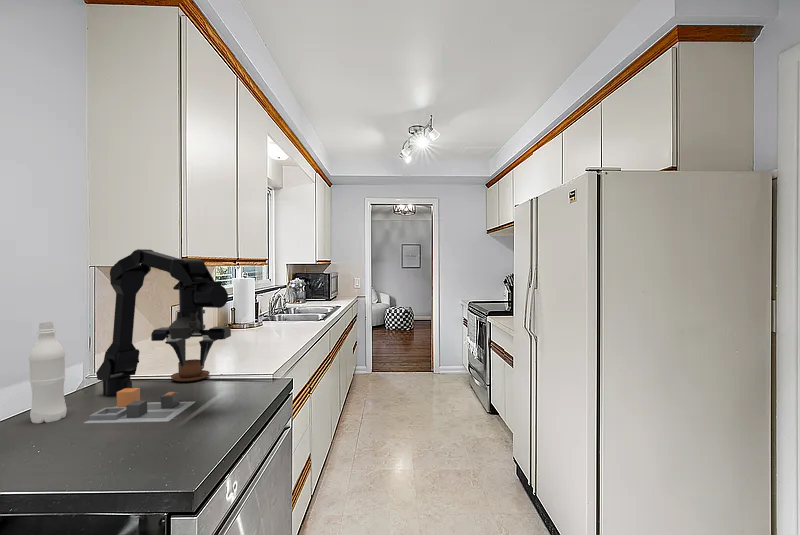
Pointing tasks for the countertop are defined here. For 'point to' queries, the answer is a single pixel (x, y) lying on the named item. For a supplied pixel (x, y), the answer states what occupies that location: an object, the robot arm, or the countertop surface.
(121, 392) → the cap
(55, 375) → the water bottle
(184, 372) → the cup and saucer
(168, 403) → the block
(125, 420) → the panel
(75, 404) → the countertop surface
